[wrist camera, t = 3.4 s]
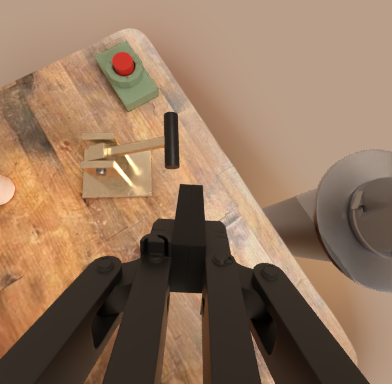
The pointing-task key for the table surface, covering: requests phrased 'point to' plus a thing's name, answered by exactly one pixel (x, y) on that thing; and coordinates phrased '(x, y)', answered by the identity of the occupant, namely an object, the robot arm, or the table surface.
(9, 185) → the drinking glass
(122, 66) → the stop button
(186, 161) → the table surface
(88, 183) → the power switch
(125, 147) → the lever
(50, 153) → the table surface
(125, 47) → the control pad
